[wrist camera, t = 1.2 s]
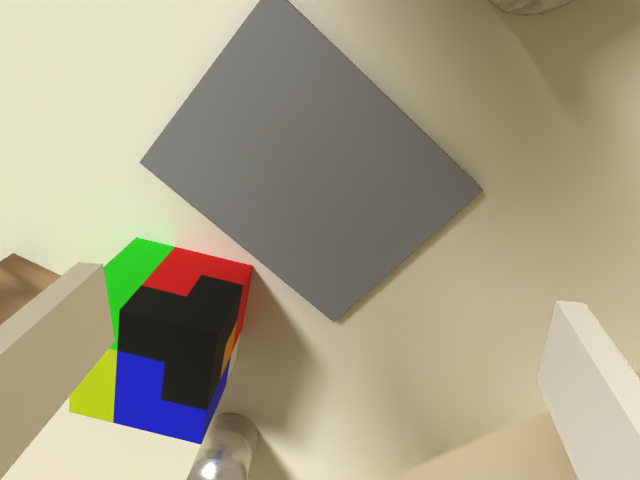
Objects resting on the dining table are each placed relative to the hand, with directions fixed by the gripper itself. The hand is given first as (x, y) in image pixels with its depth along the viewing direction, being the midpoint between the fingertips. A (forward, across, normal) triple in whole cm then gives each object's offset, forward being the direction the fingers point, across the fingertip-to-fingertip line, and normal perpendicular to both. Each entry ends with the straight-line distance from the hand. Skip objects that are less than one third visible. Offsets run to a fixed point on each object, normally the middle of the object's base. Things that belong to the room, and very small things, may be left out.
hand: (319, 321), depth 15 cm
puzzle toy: (+25, -14, -15) cm, 32 cm away
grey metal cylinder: (+24, -10, -30) cm, 40 cm away
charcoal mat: (+24, -4, -3) cm, 25 cm away
